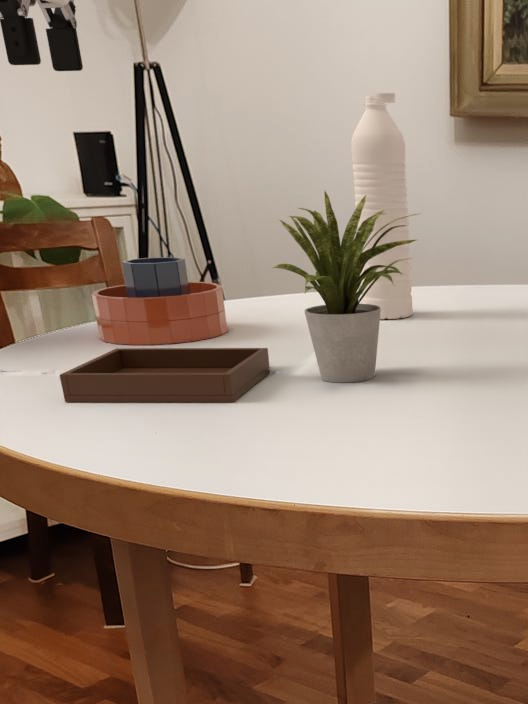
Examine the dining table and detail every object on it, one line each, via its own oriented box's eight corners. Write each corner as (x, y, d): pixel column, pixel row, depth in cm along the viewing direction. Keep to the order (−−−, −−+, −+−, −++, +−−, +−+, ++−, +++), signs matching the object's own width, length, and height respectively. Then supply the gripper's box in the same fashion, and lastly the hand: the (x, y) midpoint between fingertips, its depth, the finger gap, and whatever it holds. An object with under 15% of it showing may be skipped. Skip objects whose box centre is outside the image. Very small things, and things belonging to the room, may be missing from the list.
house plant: (394, 400, 85) (383, 193, 78) (248, 393, 88) (223, 194, 81) (439, 366, 97) (433, 185, 90) (310, 362, 101) (293, 187, 93)
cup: (127, 338, 112) (114, 263, 108) (148, 329, 117) (136, 257, 114) (182, 338, 111) (170, 263, 107) (200, 328, 117) (190, 257, 113)
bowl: (80, 350, 109) (70, 298, 106) (130, 328, 121) (122, 281, 119) (205, 350, 108) (198, 297, 105) (243, 328, 120) (237, 280, 118)
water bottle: (357, 314, 129) (342, 96, 117) (405, 310, 130) (394, 96, 119) (373, 324, 121) (358, 92, 110) (423, 320, 123) (414, 92, 112)
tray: (64, 402, 87) (59, 374, 85) (120, 373, 97) (116, 348, 96) (233, 402, 85) (229, 374, 84) (270, 372, 96) (267, 347, 95)
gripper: (17, -112, 105) (51, 73, 112) (-78, -155, 89) (-30, 63, 97) (85, -115, 104) (115, 72, 112) (1, -159, 89) (43, 61, 96)
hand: (47, 67), depth 104 cm, fingers open, 9 cm apart
